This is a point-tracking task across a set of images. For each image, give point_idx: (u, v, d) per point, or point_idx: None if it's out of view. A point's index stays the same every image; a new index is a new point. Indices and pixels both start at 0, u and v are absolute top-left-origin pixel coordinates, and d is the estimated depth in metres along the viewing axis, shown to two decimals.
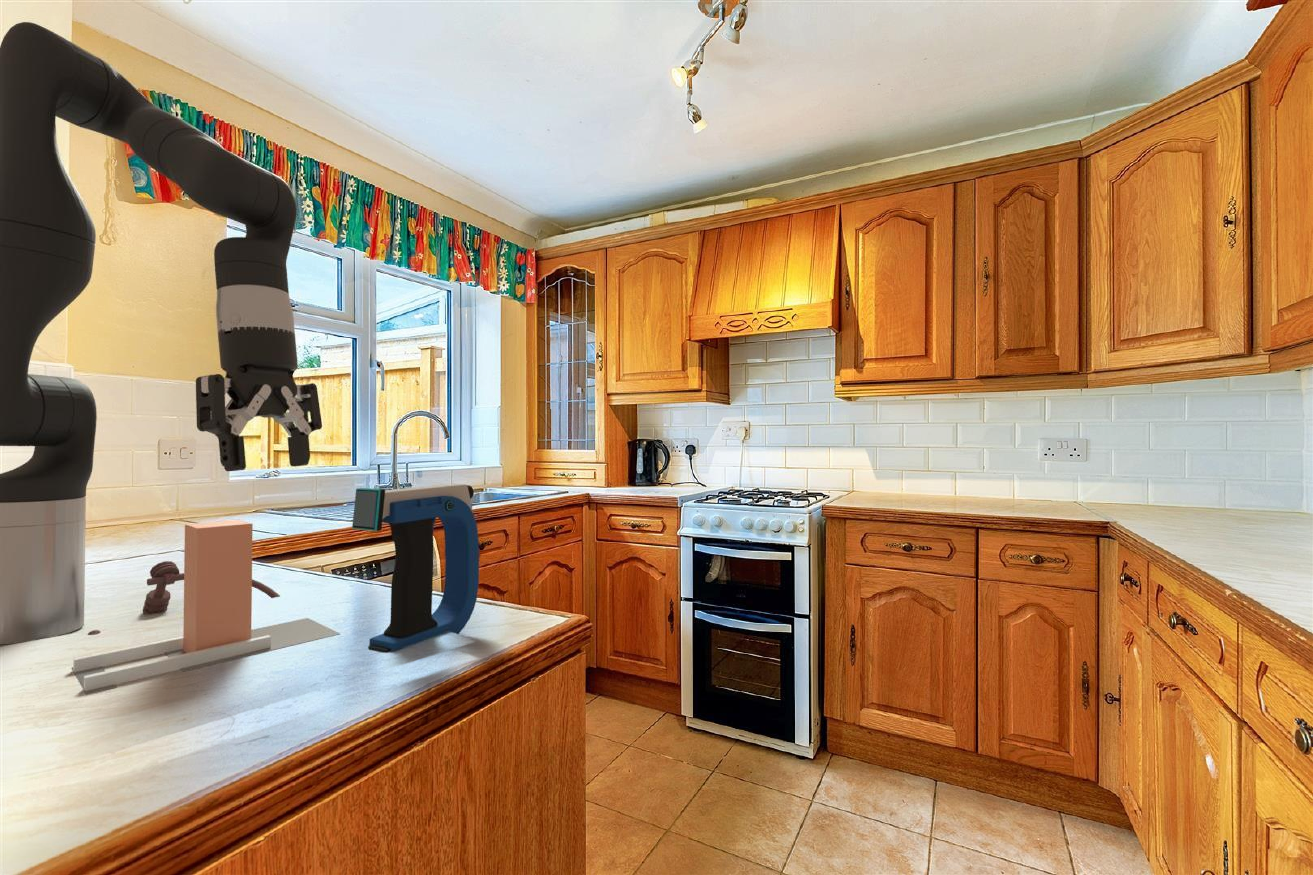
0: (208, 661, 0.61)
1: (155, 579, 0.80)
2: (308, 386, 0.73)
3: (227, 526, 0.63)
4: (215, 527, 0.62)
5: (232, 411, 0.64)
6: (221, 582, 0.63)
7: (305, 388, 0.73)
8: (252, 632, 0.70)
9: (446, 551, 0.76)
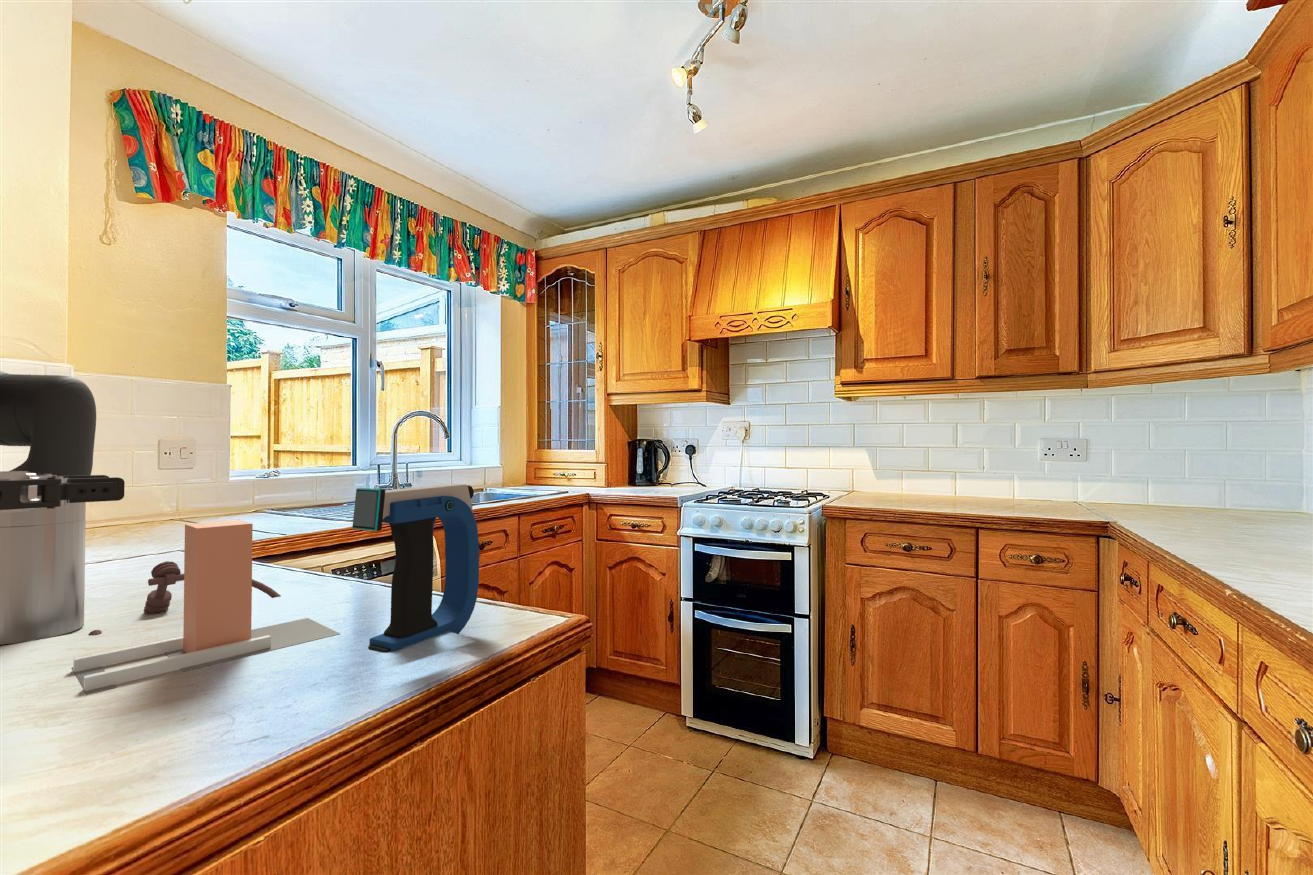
0: (208, 661, 0.61)
1: (156, 579, 0.80)
2: None
3: (227, 526, 0.63)
4: (215, 527, 0.62)
5: None
6: (221, 582, 0.63)
7: None
8: (252, 632, 0.70)
9: (446, 551, 0.76)
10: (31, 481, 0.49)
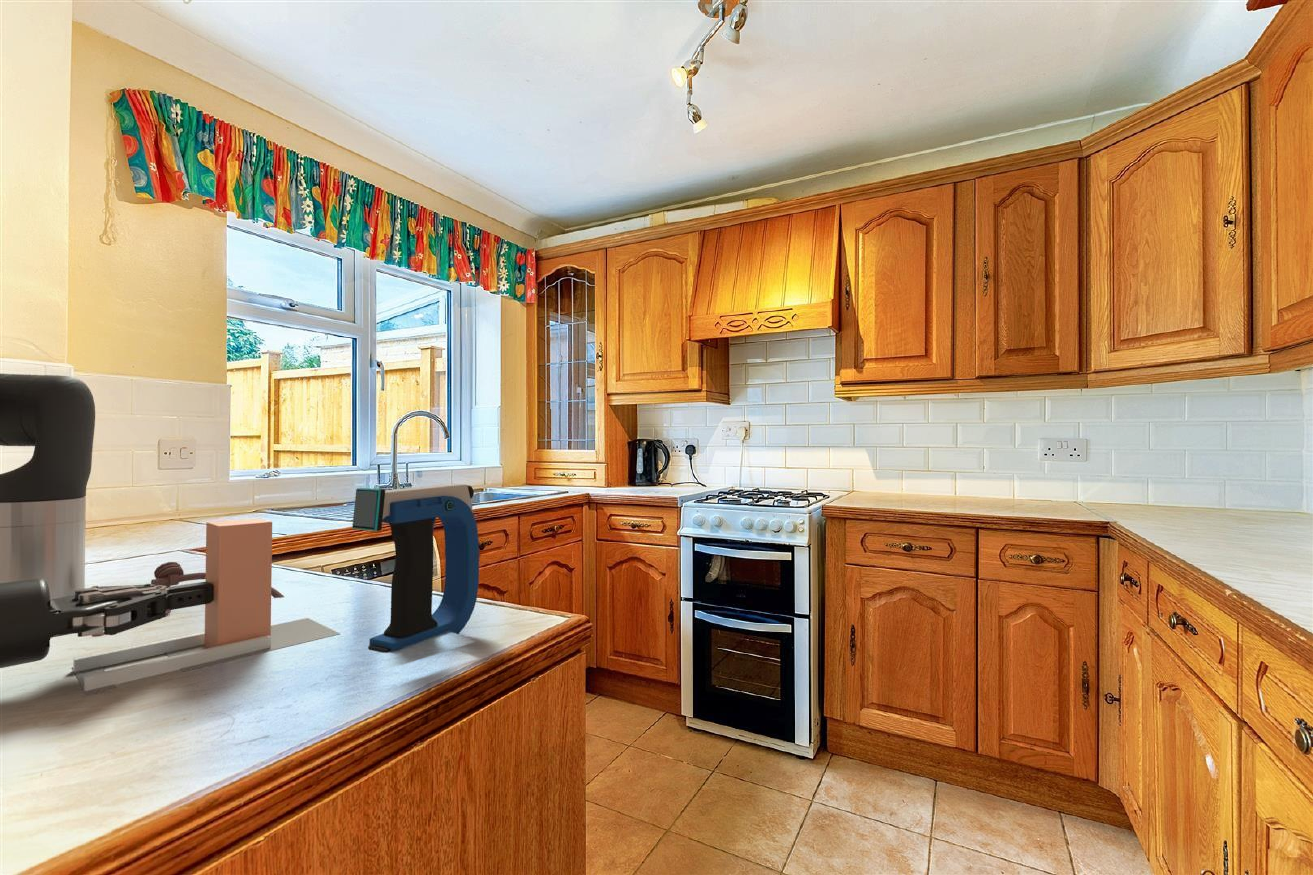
0: (208, 661, 0.61)
1: (159, 580, 0.80)
2: None
3: (248, 524, 0.65)
4: (236, 525, 0.64)
5: None
6: (242, 579, 0.64)
7: None
8: None
9: (446, 551, 0.76)
10: (152, 598, 0.57)
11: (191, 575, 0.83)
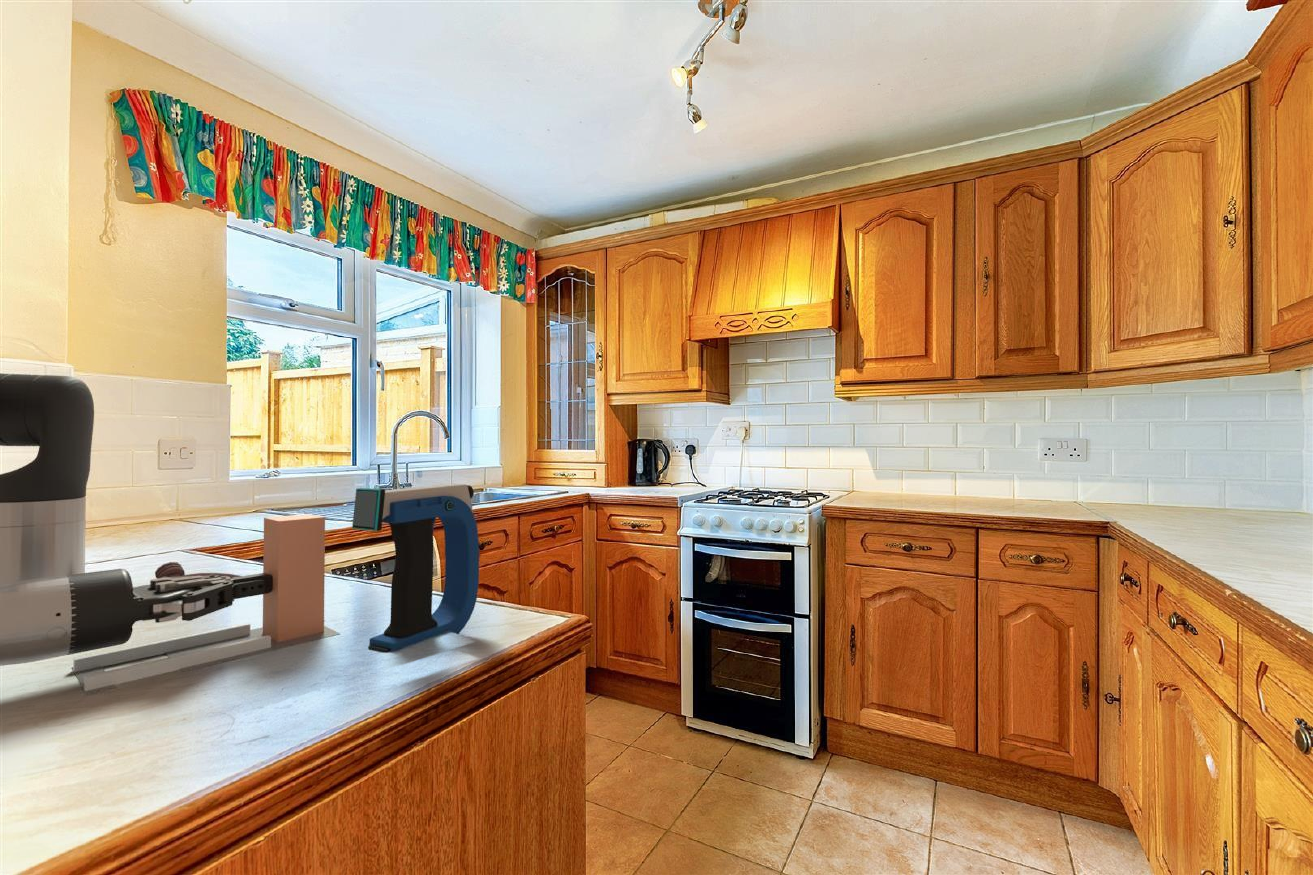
0: (208, 661, 0.61)
1: None
2: None
3: (303, 519, 0.69)
4: (293, 520, 0.68)
5: None
6: (298, 570, 0.69)
7: None
8: (252, 632, 0.70)
9: (446, 551, 0.76)
10: (222, 587, 0.62)
11: (192, 575, 0.82)
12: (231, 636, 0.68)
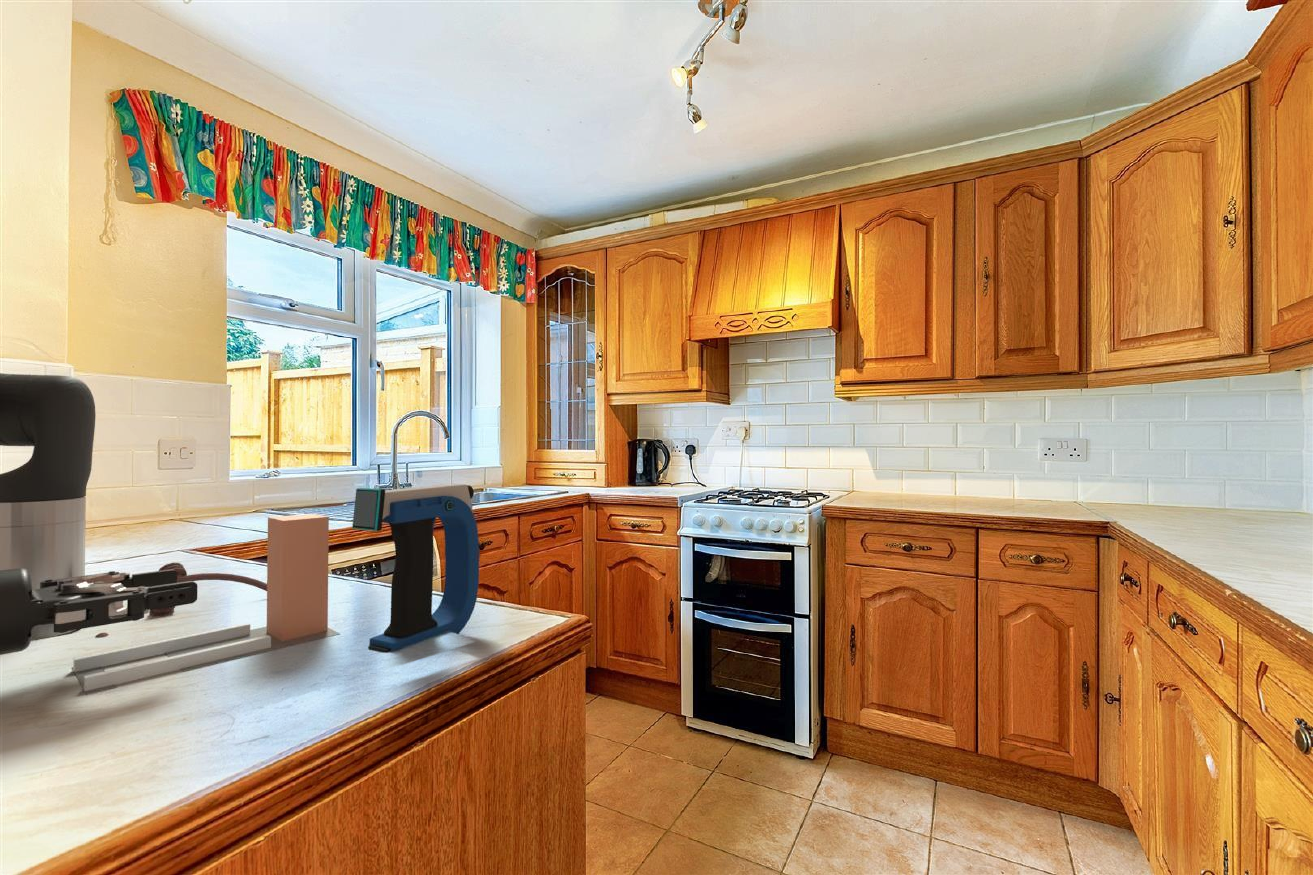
0: (208, 661, 0.61)
1: None
2: None
3: (307, 519, 0.69)
4: (297, 520, 0.69)
5: None
6: (302, 570, 0.69)
7: None
8: (252, 632, 0.70)
9: (446, 551, 0.76)
10: (118, 597, 0.53)
11: (194, 576, 0.82)
12: (231, 636, 0.68)
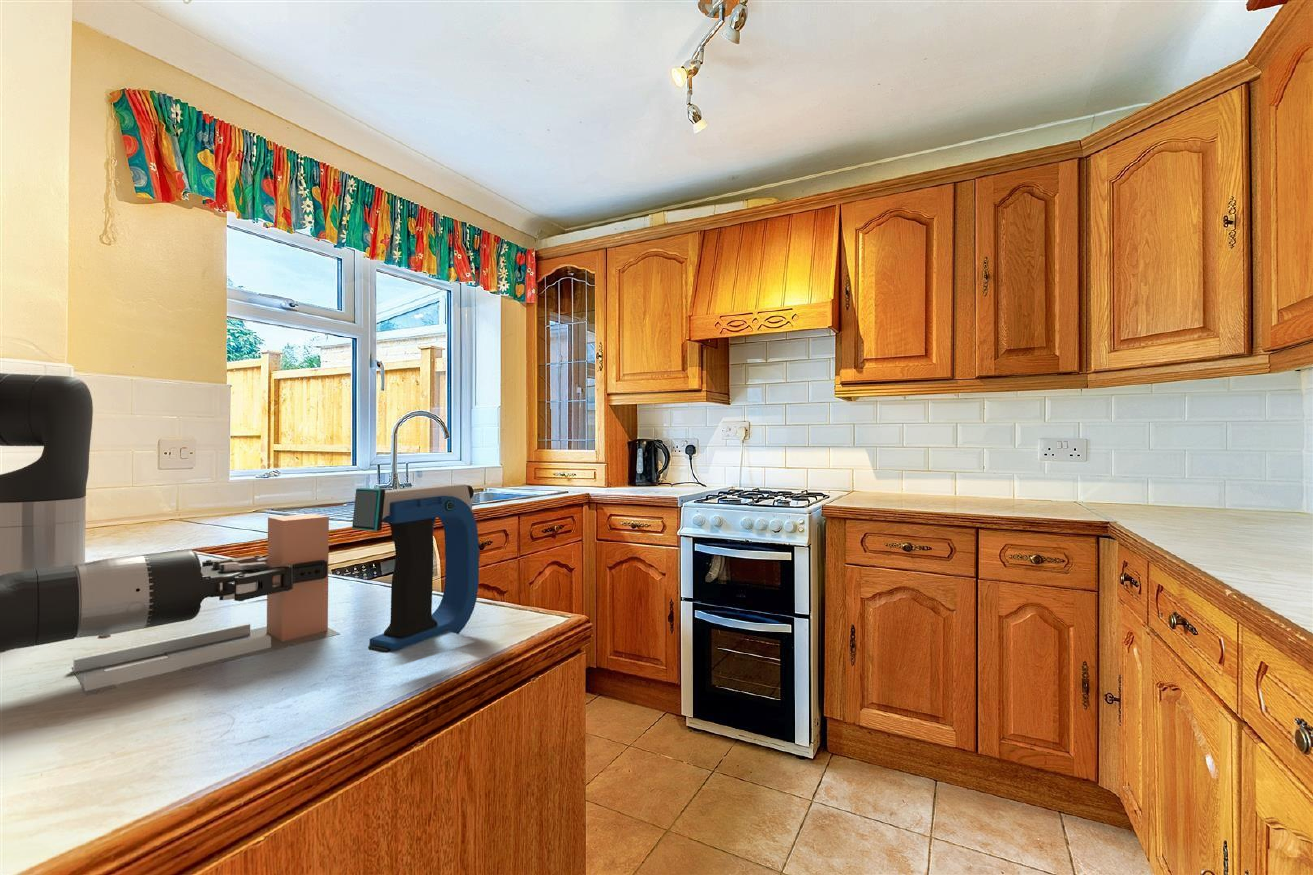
0: (208, 661, 0.61)
1: None
2: None
3: (308, 519, 0.69)
4: (298, 520, 0.69)
5: None
6: None
7: None
8: (252, 632, 0.70)
9: (446, 551, 0.76)
10: (278, 571, 0.64)
11: None
12: (231, 636, 0.68)
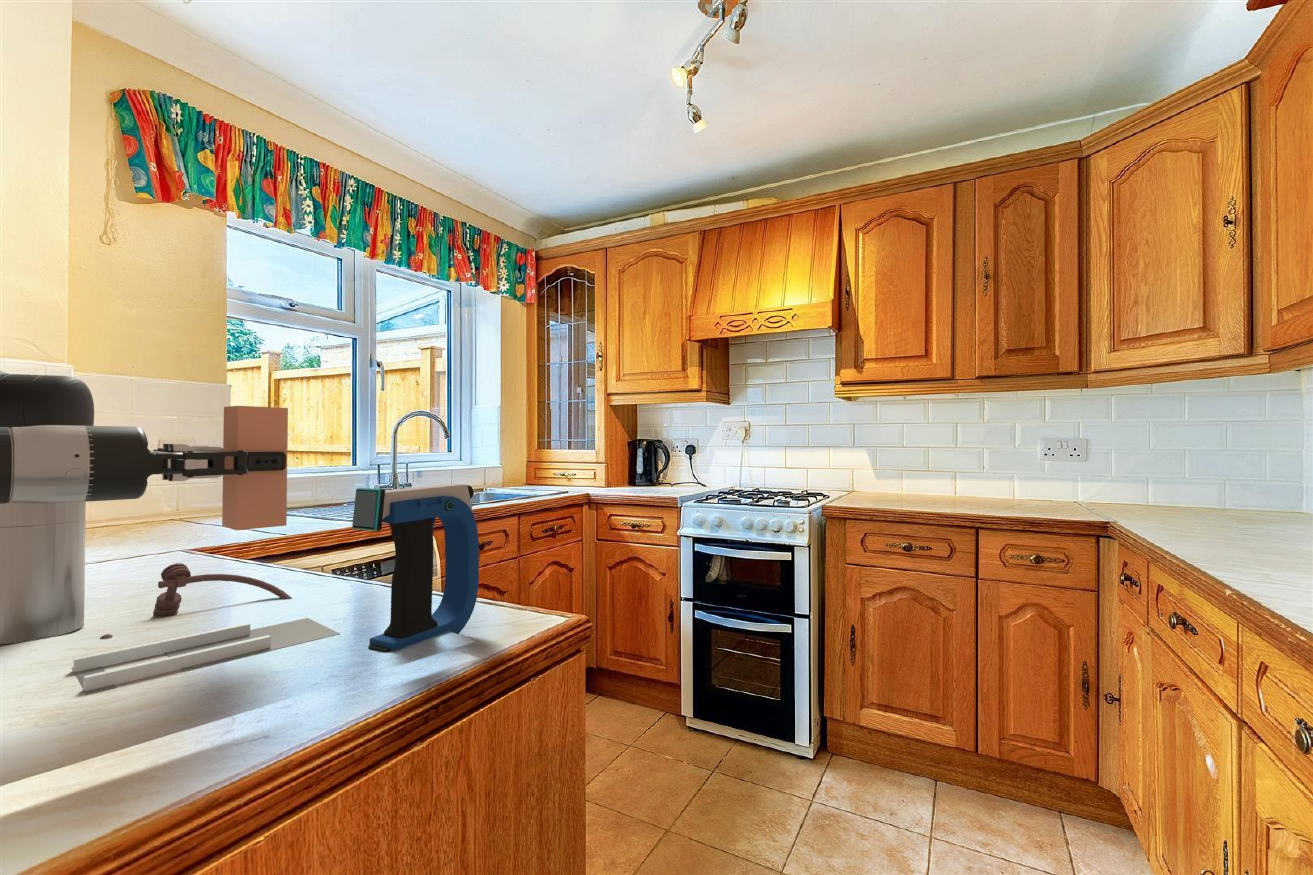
0: (208, 661, 0.61)
1: (166, 582, 0.79)
2: None
3: (265, 407, 0.67)
4: (254, 407, 0.66)
5: None
6: None
7: None
8: (252, 632, 0.70)
9: (446, 551, 0.76)
10: (231, 453, 0.61)
11: (198, 577, 0.82)
12: (231, 636, 0.68)
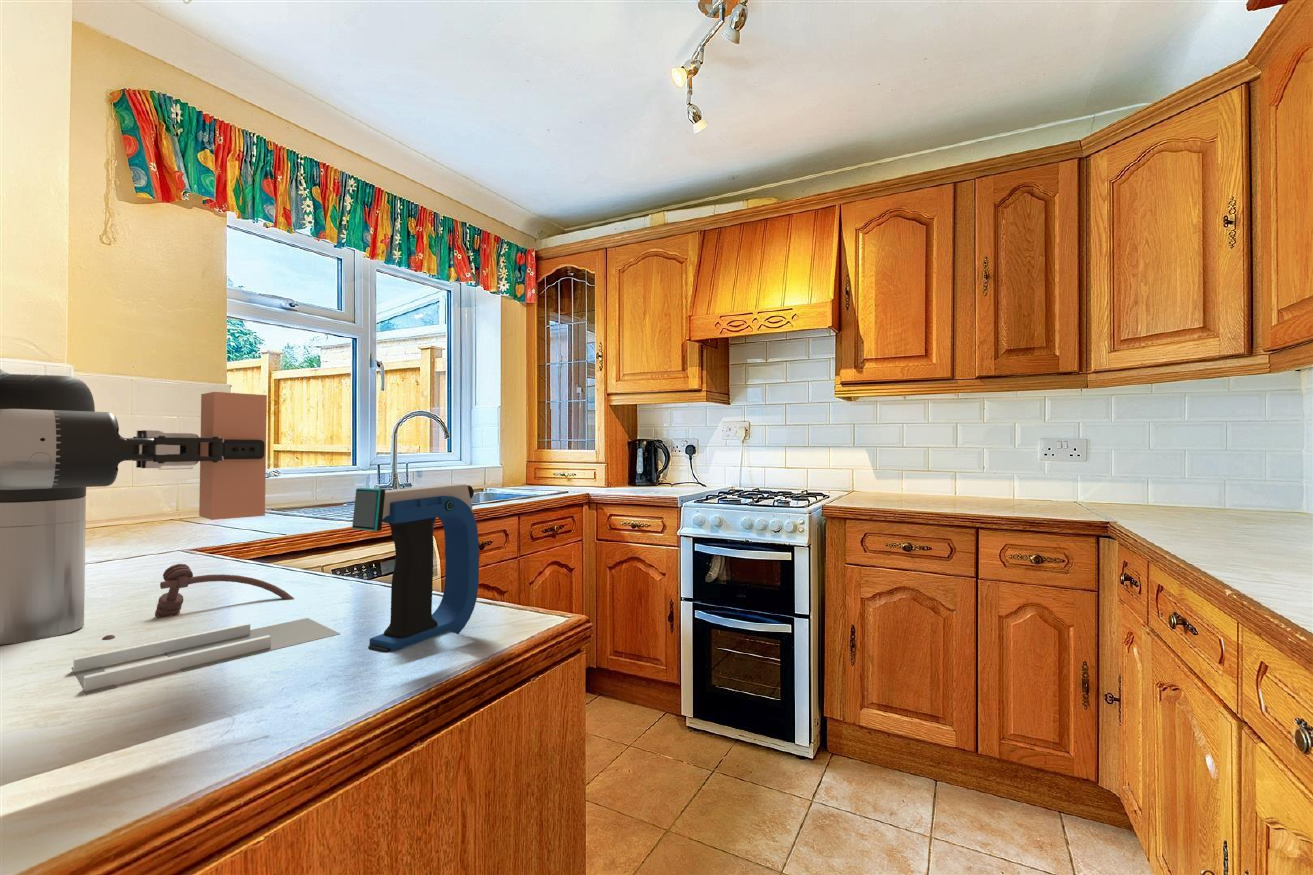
0: (208, 661, 0.61)
1: (169, 582, 0.78)
2: None
3: (242, 394, 0.65)
4: (231, 393, 0.64)
5: None
6: None
7: None
8: (252, 632, 0.70)
9: (446, 551, 0.76)
10: (205, 439, 0.60)
11: (200, 577, 0.81)
12: (231, 636, 0.68)
